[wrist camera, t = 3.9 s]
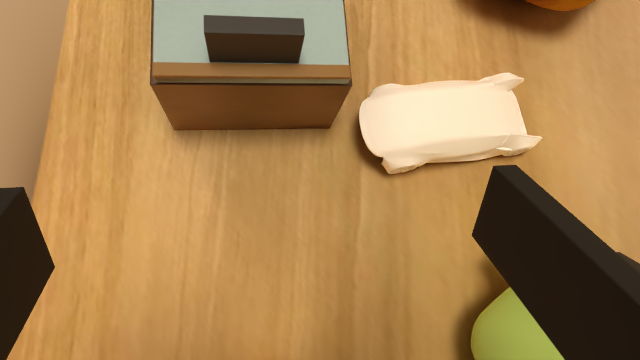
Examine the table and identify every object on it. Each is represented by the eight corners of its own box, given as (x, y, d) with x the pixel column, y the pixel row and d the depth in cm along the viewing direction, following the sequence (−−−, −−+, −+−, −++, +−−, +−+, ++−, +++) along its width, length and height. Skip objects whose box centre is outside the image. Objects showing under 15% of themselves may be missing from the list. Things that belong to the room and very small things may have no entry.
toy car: (508, 82, 43) (537, 60, 39) (529, 153, 42) (562, 139, 37) (344, 100, 39) (355, 79, 35) (360, 179, 38) (374, 167, 34)
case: (174, 130, 36) (149, 84, 28) (175, -45, 40) (154, -133, 31) (329, 128, 39) (352, 85, 30) (316, -37, 42) (333, -117, 34)
